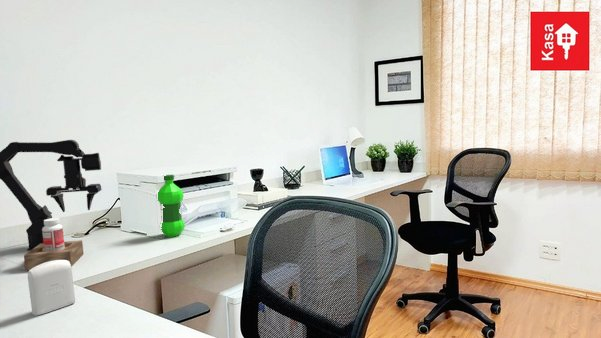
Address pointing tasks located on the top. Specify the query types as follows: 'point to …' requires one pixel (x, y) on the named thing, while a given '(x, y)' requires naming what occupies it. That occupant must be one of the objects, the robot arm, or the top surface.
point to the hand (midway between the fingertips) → (76, 211)
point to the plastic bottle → (171, 207)
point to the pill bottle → (53, 235)
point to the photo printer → (51, 286)
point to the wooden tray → (54, 254)
